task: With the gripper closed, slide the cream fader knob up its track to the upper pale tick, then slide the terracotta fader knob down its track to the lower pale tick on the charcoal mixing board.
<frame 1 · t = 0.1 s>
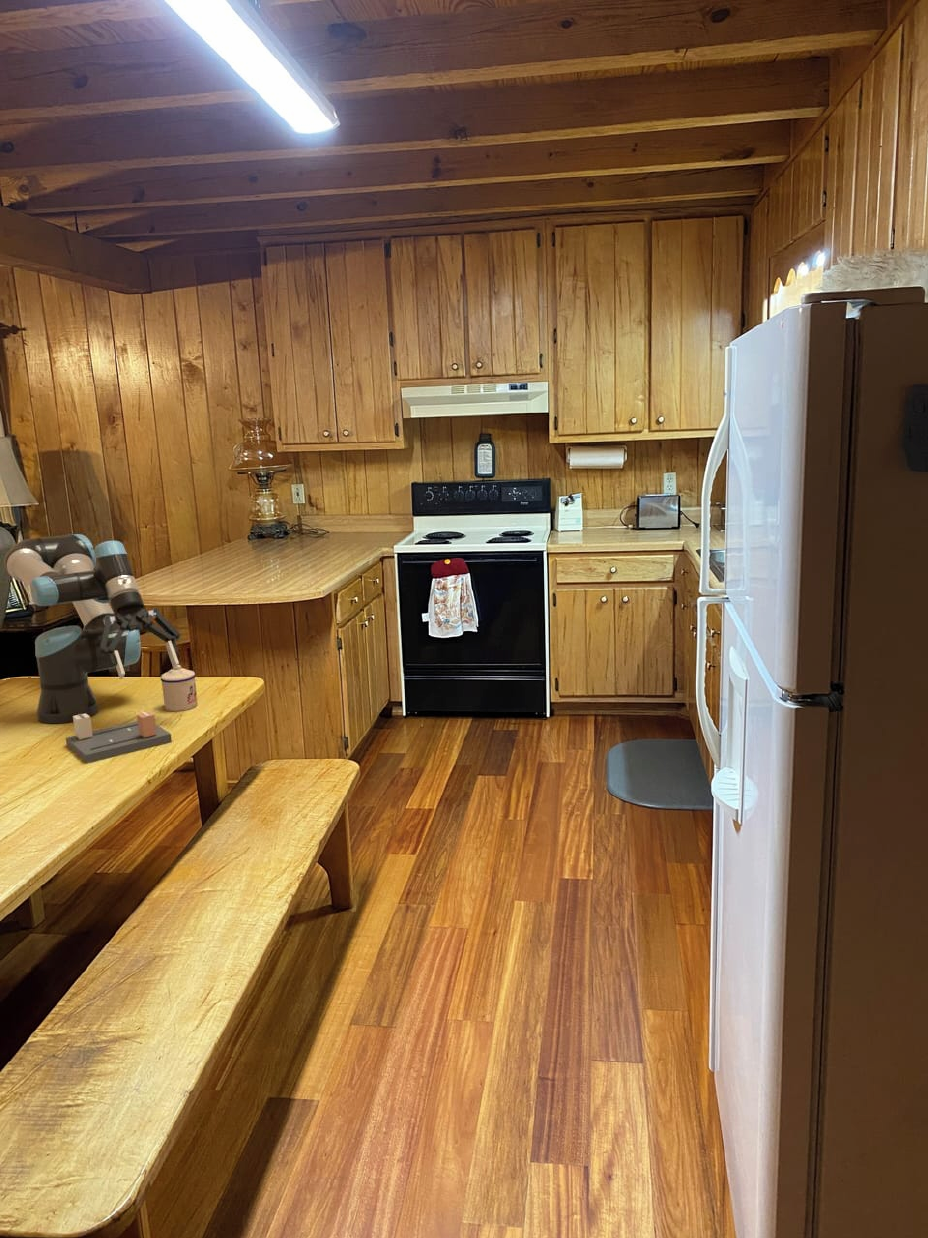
hand: (149, 671, 224), 15 cm above the table, tool tilted 35°, fingers open, 13 cm apart
fader a: (82, 725, 217), point 5 cm above the table, slide at 0.0 cm
mixer board: (119, 743, 218), on the table
fader b: (146, 724, 216), point 5 cm above the table, slide at 12.0 cm
teacup with lid: (182, 705, 247), on the table
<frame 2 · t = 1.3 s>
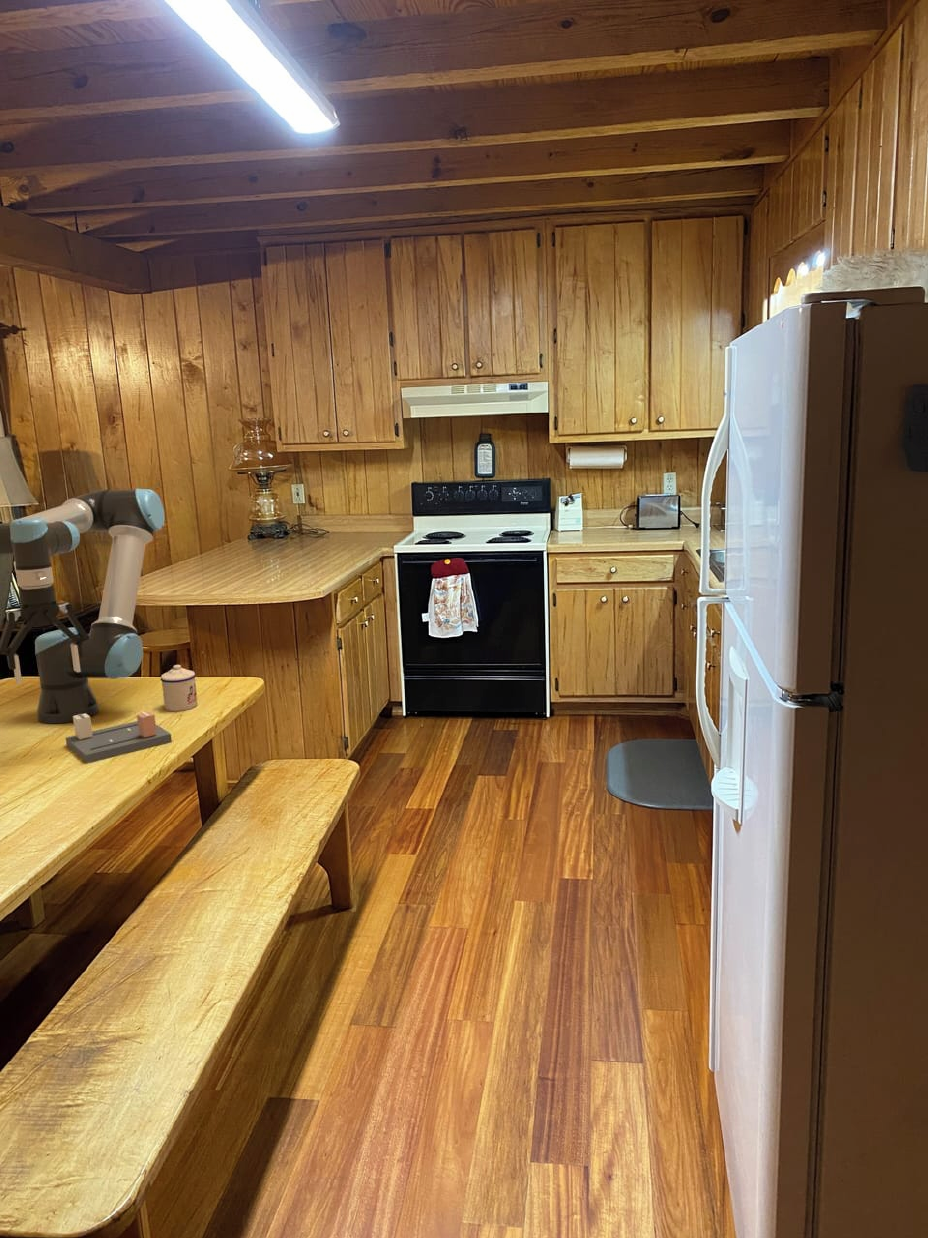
hand: (48, 676, 210), 19 cm above the table, tool pointing down, fingers open, 12 cm apart
nothing on the table moved.
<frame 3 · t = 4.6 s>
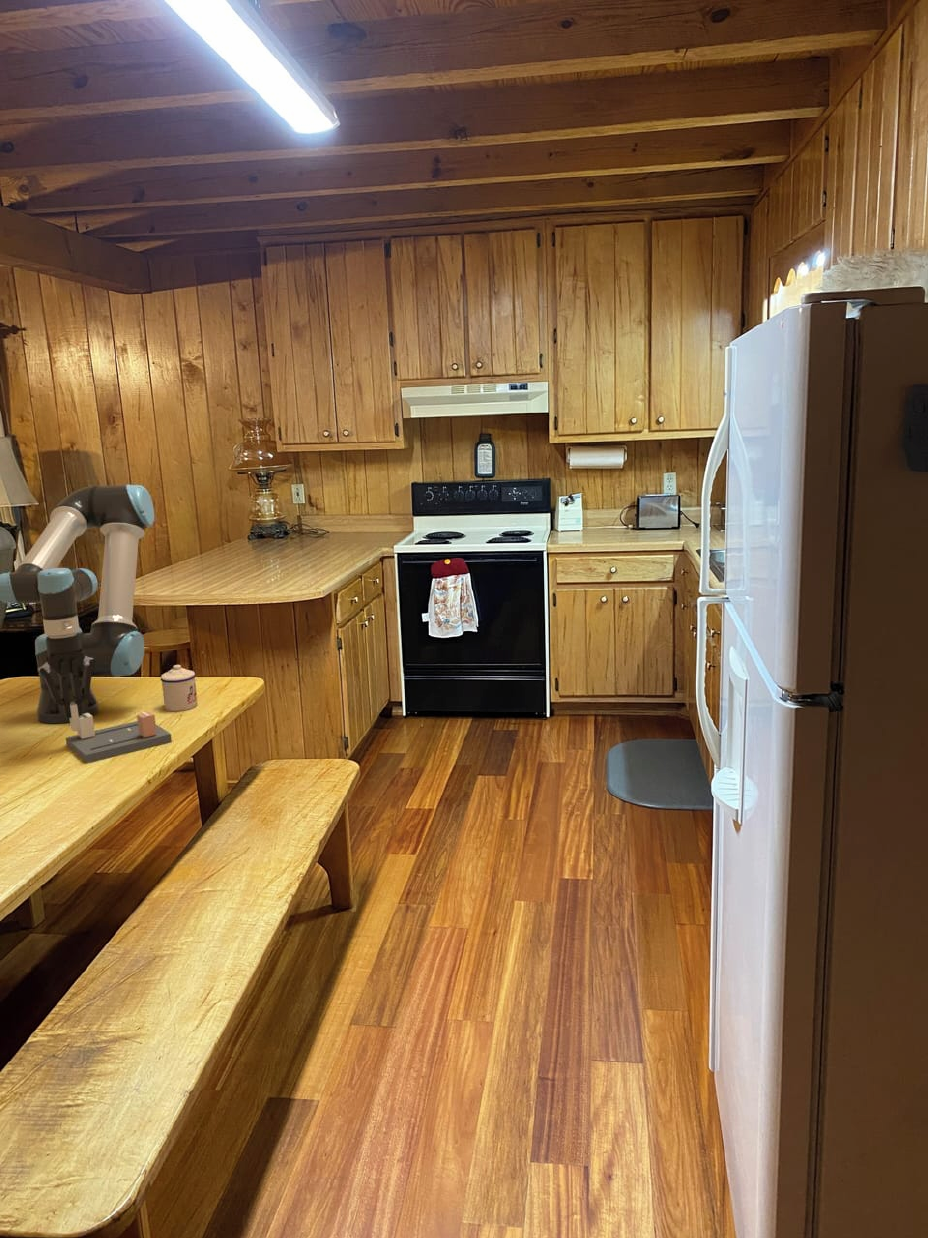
hand: (75, 729, 216), 4 cm above the table, tool pointing down, fingers closed
fader a: (85, 725, 217), point 5 cm above the table, slide at 0.6 cm, touching gripper
everything else where it was.
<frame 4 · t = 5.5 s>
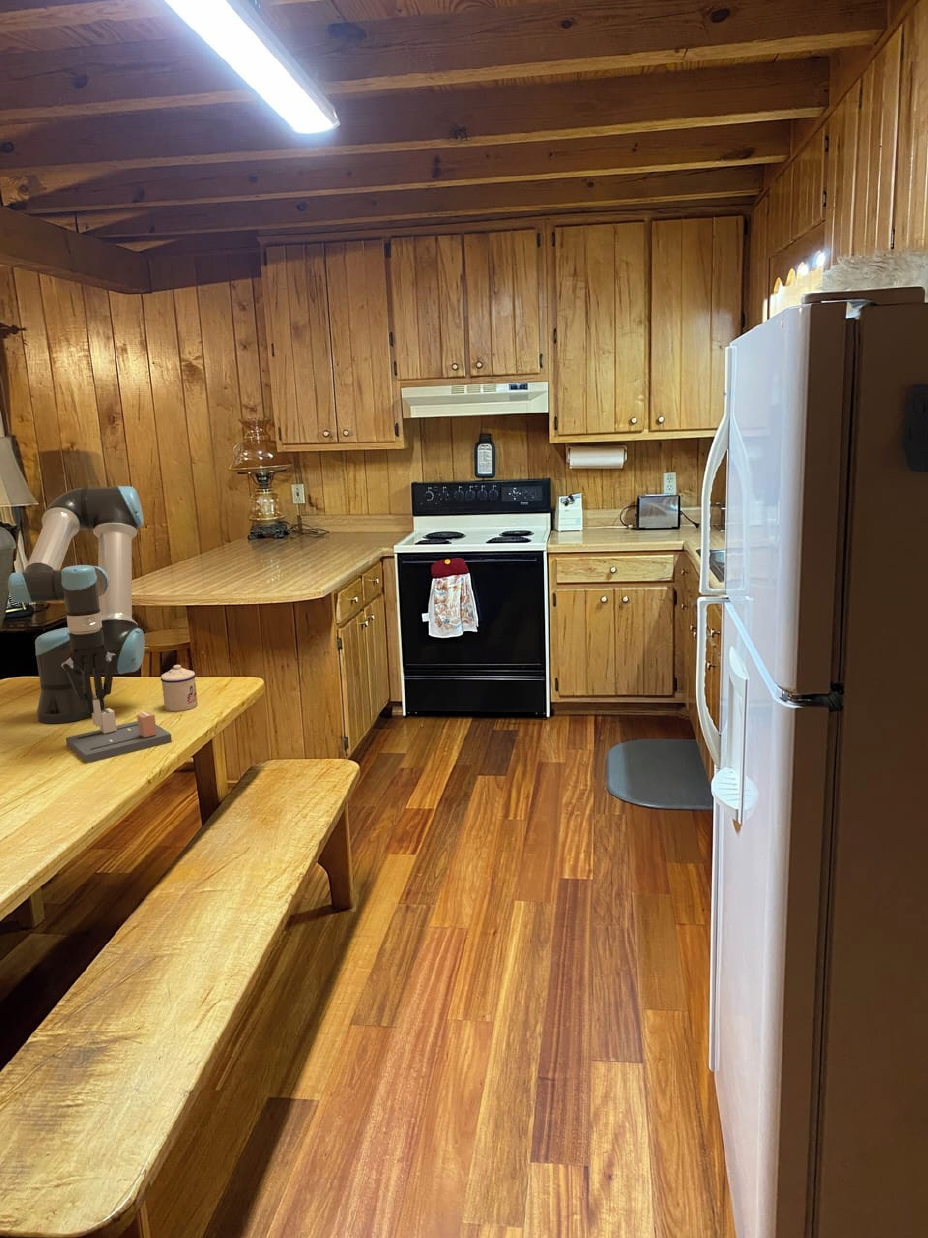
hand: (97, 724, 219), 4 cm above the table, tool pointing down, fingers closed
fader a: (106, 720, 220), point 5 cm above the table, slide at 5.8 cm, touching gripper
everything else where it was.
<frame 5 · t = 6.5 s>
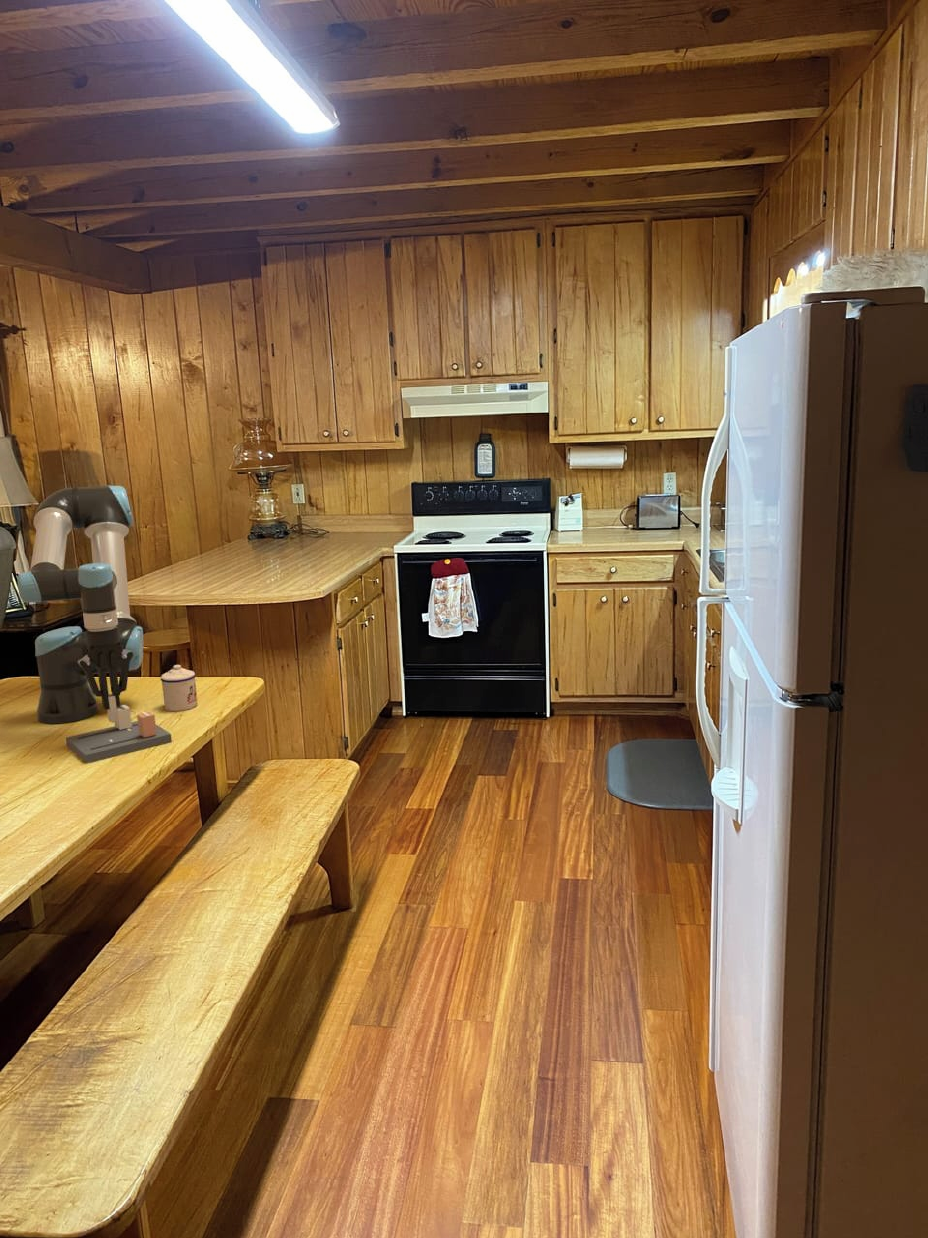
hand: (113, 720, 221), 4 cm above the table, tool pointing down, fingers closed
fader a: (122, 716, 223), point 5 cm above the table, slide at 9.5 cm, touching gripper
everything else where it was.
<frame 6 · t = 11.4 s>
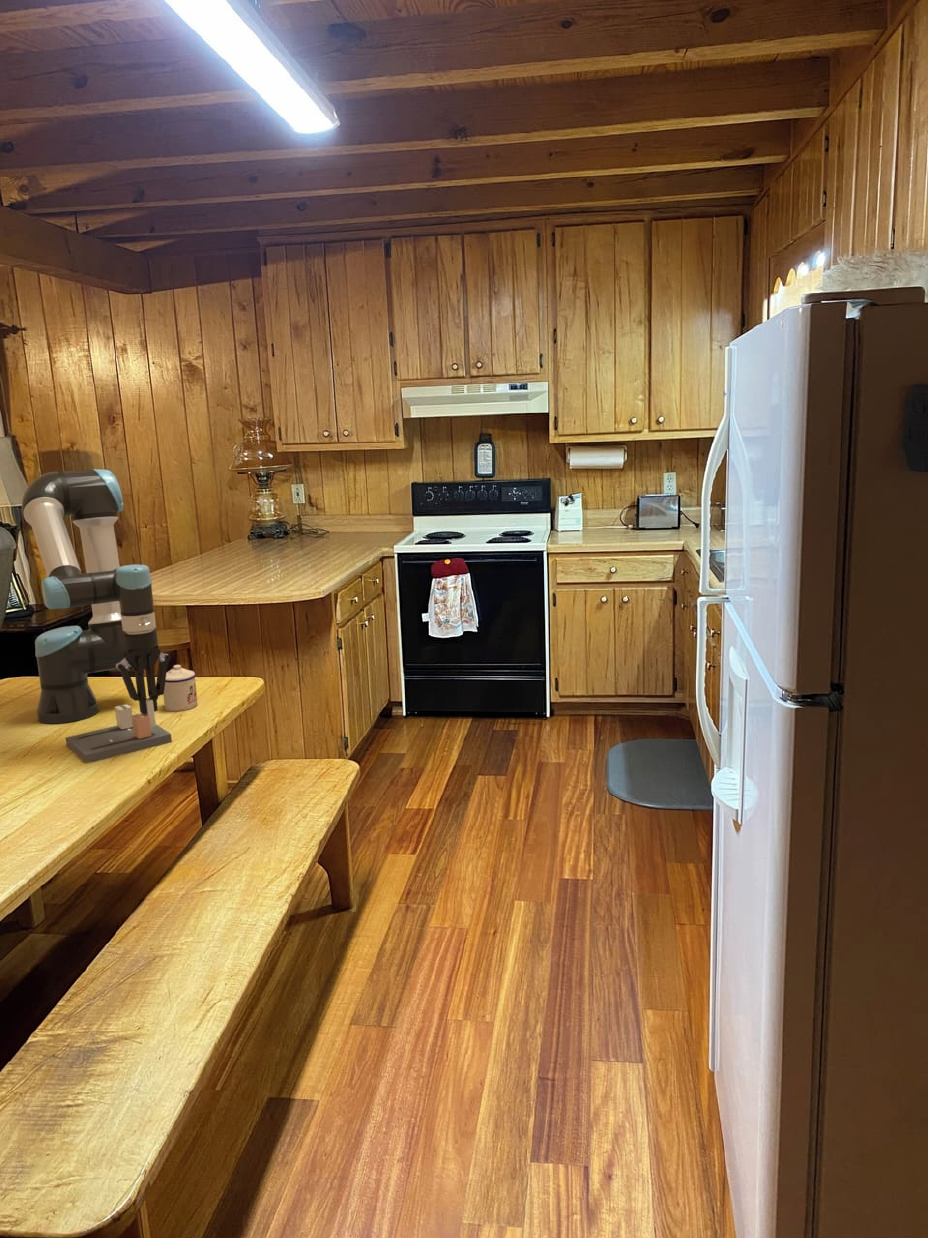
hand: (150, 725, 217), 4 cm above the table, tool pointing down, fingers closed
fader a: (124, 716, 223), point 5 cm above the table, slide at 10.0 cm
fader b: (141, 725, 216), point 5 cm above the table, slide at 10.7 cm, touching gripper
everything else where it was.
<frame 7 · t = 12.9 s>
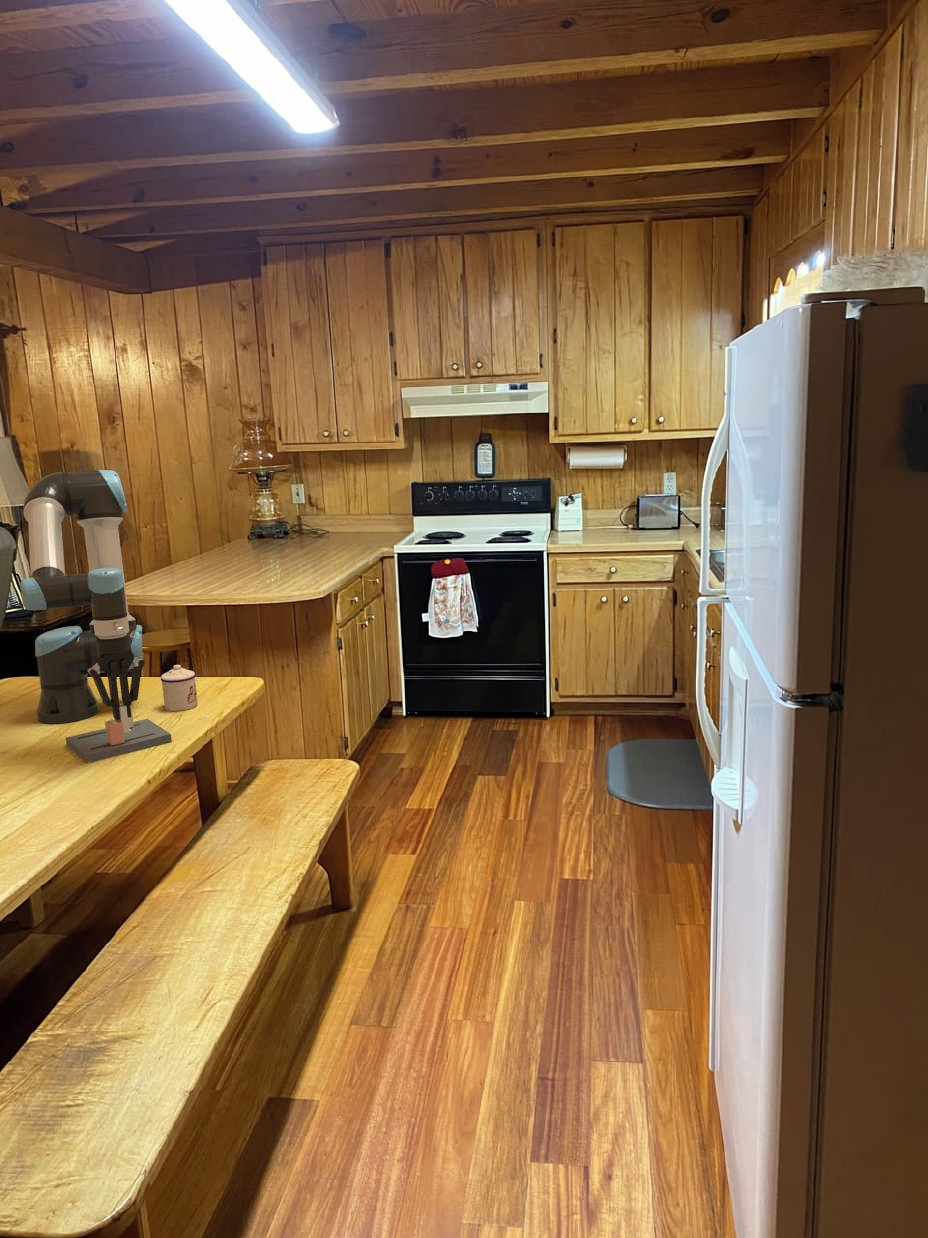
hand: (124, 731, 213), 4 cm above the table, tool pointing down, fingers closed
fader b: (114, 731, 212), point 5 cm above the table, slide at 4.4 cm, touching gripper
everything else where it was.
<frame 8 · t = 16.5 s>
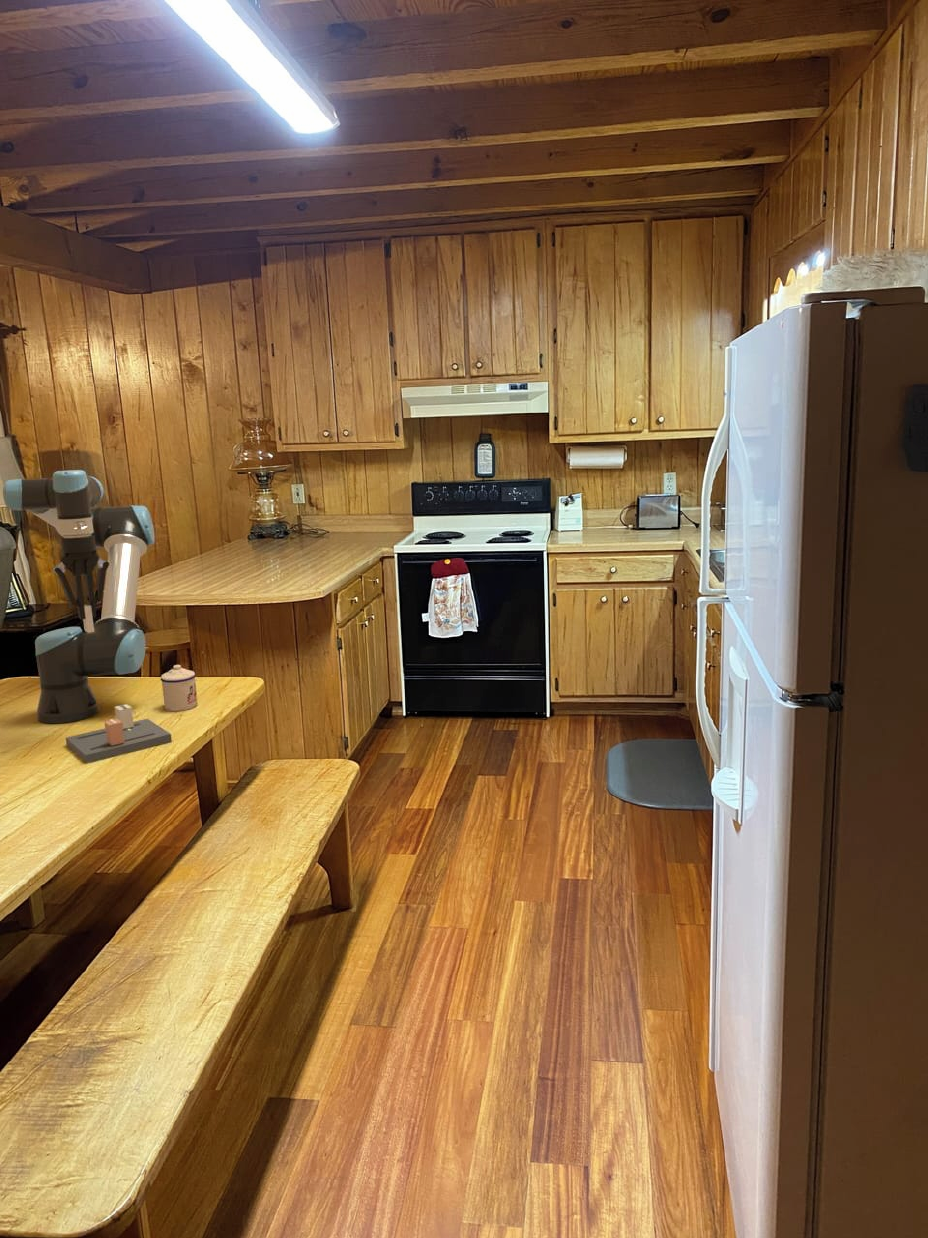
hand: (89, 631, 220), 26 cm above the table, tool pointing down, fingers closed
fader b: (114, 731, 212), point 5 cm above the table, slide at 4.3 cm
everything else where it was.
at the end: fader a slide at 10.0 cm; fader b slide at 4.3 cm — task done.
